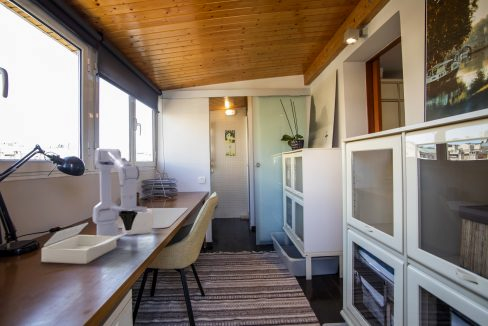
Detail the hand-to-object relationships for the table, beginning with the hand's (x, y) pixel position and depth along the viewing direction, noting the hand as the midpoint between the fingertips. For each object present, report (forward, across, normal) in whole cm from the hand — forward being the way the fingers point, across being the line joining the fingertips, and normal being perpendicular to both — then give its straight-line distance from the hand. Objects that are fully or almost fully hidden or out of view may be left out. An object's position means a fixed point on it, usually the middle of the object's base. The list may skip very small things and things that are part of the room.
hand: (128, 230), depth 98 cm
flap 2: (+4, -7, 0) cm, 8 cm away
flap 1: (+2, -26, 0) cm, 26 cm away
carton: (+10, -20, 0) cm, 22 cm away
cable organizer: (+11, -15, +34) cm, 39 cm away
